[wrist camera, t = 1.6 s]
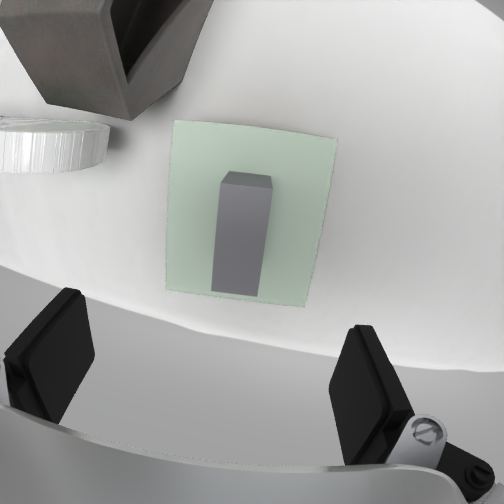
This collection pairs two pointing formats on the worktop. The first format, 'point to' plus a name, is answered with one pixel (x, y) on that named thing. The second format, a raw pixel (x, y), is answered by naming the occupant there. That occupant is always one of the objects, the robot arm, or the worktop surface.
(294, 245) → the lid
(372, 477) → the robot arm
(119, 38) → the planter
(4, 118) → the cutout
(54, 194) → the worktop surface
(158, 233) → the worktop surface
